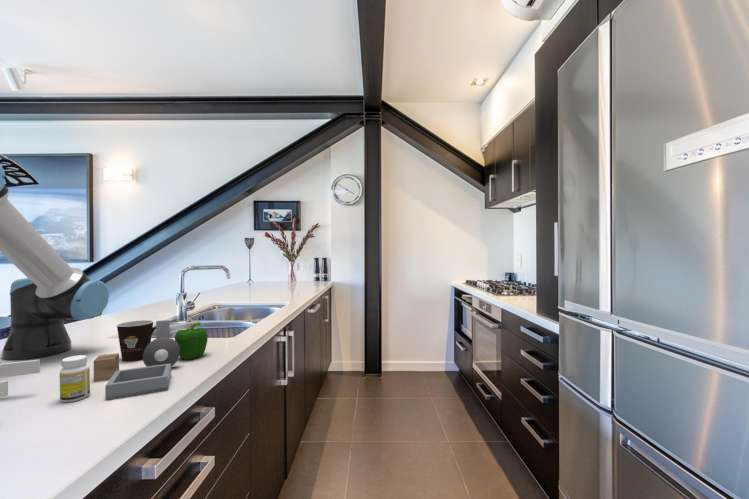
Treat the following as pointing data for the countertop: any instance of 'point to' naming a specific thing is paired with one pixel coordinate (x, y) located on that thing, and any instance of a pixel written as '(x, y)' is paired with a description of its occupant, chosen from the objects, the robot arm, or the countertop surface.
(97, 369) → the wooden block
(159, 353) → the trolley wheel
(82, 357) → the supplement bottle
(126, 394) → the tray
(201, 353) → the bell pepper
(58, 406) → the countertop surface
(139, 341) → the coffee mug
